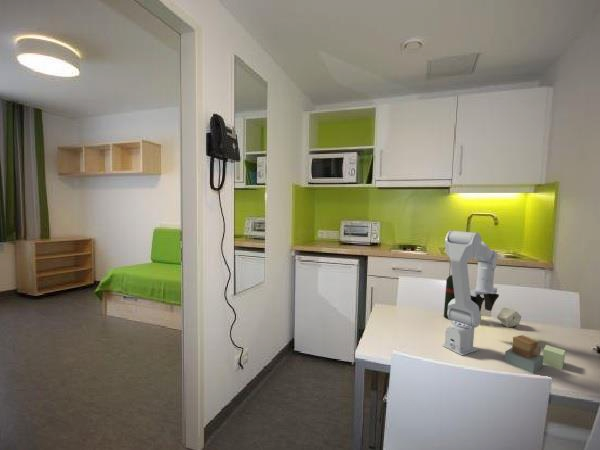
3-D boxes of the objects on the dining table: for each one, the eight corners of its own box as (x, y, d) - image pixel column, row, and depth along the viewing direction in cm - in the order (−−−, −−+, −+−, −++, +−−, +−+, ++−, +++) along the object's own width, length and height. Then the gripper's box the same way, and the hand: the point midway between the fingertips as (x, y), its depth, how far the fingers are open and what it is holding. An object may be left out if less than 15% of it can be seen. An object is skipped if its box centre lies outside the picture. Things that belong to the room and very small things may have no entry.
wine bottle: (469, 323, 132) (474, 257, 130) (445, 319, 135) (449, 255, 133) (465, 316, 140) (470, 254, 137) (442, 313, 143) (446, 252, 140)
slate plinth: (532, 374, 93) (533, 362, 92) (504, 362, 99) (505, 351, 99) (542, 367, 97) (543, 355, 97) (514, 356, 104) (515, 345, 104)
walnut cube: (528, 358, 95) (529, 343, 94) (512, 351, 99) (513, 337, 99) (537, 356, 97) (538, 341, 96) (521, 349, 101) (522, 335, 101)
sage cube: (561, 369, 96) (563, 355, 95) (542, 363, 99) (543, 349, 99) (563, 364, 99) (565, 350, 99) (544, 358, 103) (546, 344, 102)
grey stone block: (493, 326, 131) (507, 314, 125) (492, 311, 138) (505, 299, 131) (512, 334, 130) (527, 323, 123) (510, 319, 136) (524, 308, 130)
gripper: (484, 282, 111) (481, 317, 112) (506, 279, 118) (503, 312, 119) (466, 278, 118) (464, 311, 119) (488, 275, 124) (485, 306, 125)
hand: (482, 311), depth 119 cm, fingers open, 7 cm apart
